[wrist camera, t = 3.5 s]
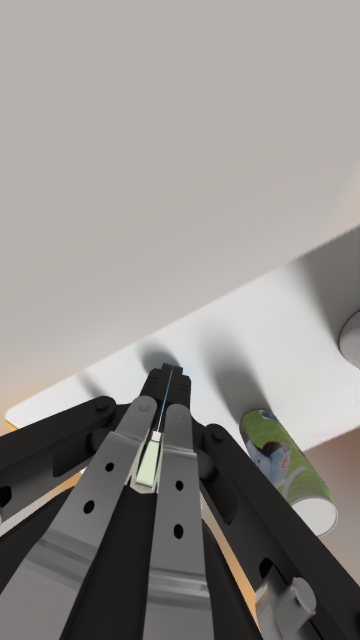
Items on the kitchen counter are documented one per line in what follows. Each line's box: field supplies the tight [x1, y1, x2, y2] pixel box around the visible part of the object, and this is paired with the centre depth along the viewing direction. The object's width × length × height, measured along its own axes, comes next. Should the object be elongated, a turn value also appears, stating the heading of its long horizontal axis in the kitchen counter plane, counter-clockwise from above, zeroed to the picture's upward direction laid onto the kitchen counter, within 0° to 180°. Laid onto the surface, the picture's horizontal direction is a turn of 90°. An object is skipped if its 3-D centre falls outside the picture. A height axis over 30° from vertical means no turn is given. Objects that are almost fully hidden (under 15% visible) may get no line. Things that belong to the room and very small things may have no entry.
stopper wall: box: [134, 483, 152, 493], centre depth 34 cm, size 2×9×2 cm, turn 77°
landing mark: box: [136, 440, 159, 486], centre depth 33 cm, size 12×12×1 cm
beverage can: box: [239, 409, 338, 538], centre depth 21 cm, size 6×7×12 cm
